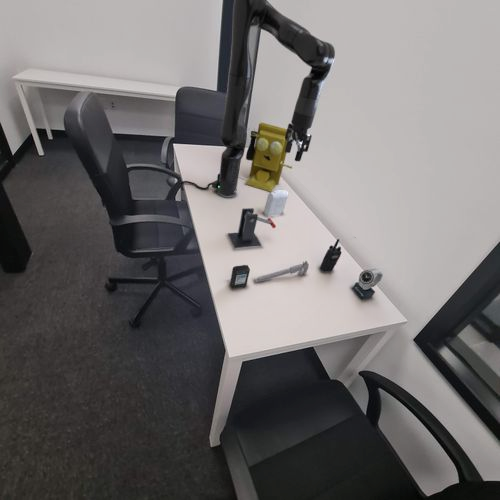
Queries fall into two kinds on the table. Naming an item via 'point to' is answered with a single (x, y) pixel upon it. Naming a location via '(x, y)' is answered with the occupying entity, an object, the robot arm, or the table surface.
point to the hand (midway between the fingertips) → (292, 156)
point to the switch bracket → (246, 231)
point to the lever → (263, 220)
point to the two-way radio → (331, 258)
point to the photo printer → (276, 202)
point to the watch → (367, 283)
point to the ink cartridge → (239, 276)
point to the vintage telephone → (266, 156)
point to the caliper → (285, 272)
